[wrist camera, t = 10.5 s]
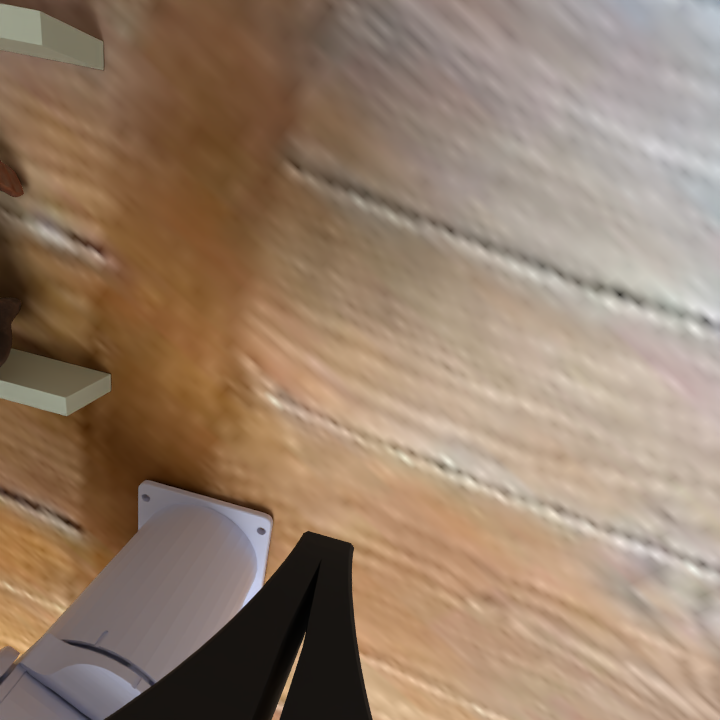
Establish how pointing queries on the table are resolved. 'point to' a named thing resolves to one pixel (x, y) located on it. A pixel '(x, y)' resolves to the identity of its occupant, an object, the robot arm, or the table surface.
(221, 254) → the table surface
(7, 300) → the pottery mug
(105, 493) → the table surface
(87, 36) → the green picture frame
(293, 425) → the table surface
